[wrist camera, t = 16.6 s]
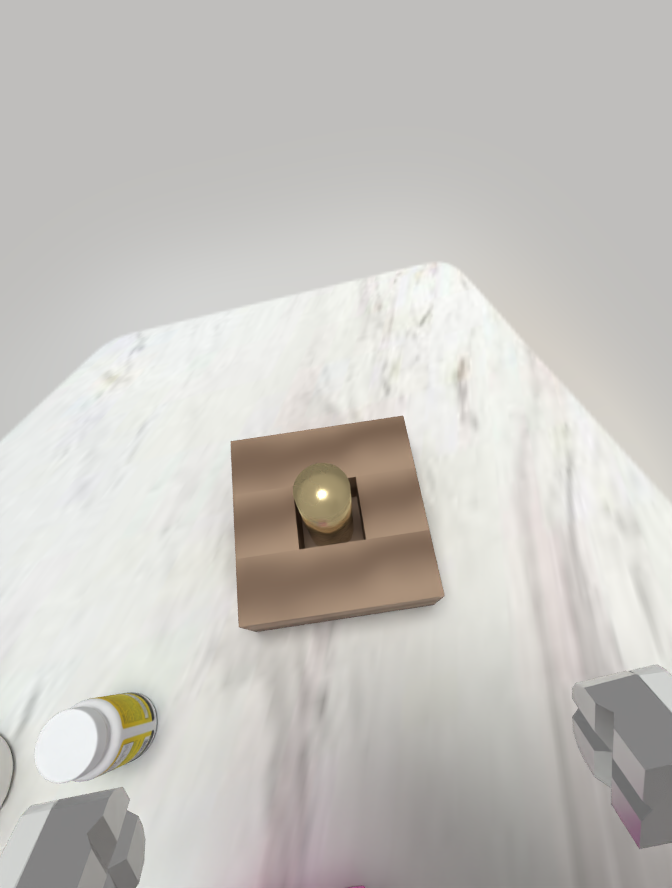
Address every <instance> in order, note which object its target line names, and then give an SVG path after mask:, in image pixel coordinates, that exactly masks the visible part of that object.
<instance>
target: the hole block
mask: <svg viewBox="0 0 672 888" xmlns="http://www.w3.org/2000/svg"><path fill="white" fill-rule="evenodd" d="M231 462H232V484H233V507H234V530H235V553H236V576H237V599H238V621H239V627H240V628H244V629H248V630H251V631H255V632H258V631H265V630H272V629H278V628H285V627H291V626H298V625H304V624H311V623H318V622H324V621H331V620H337V619H344V618H351V617H357V616H364V615H370V614H377V613H383V612H390V611H397V610H403V609H410V608H416V607H423V606H429V605H434V604H435V603H436V602H438V601H439V600H440V599H441V598H443V597H444V592H443V587H442V583H441V578H440V574H439V570H438V565H437V561H436V557H435V552H434V548H433V543H432V539H431V535H430V530H429V526H428V522H427V517H426V513H425V509H424V504H423V500H422V495H421V491H420V487H419V482H418V478H417V474H416V469H415V465H414V461H413V456H412V452H411V447H410V443H409V439H408V434H407V430H406V426H405V421H404V417H403V416H398V417H391V418H384V419H378V420H371V421H364V422H357V423H351V424H344V425H337V426H331V427H324V428H317V429H311V430H304V431H297V432H290V433H284V434H277V435H270V436H264V437H257V438H250V439H243V440H237V441H231ZM317 463H328V464H332V465H335V466H337V467H338V468H340V469H341V470H342V471H343V472H344V473H345V474H346V476H347V478H348V480H349V483H350V490H351V502H352V514H353V526H354V529H353V534H352V537H351V539H350V540H349V542H346V543H339V544H333V545H326V546H317V545H316V544H315V543H314V542H313V540H312V539H311V537H310V535H309V532H308V530H307V528H306V525H305V523H304V521H303V519H302V516H301V514H300V512H299V509H298V507H297V505H296V503H295V500H294V497H293V486H294V482H295V480H296V478H297V476H298V475H299V474H300V472H301V471H303V470H304V469H305V468H307V467H308V466H310V465H313V464H317Z"/></svg>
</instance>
